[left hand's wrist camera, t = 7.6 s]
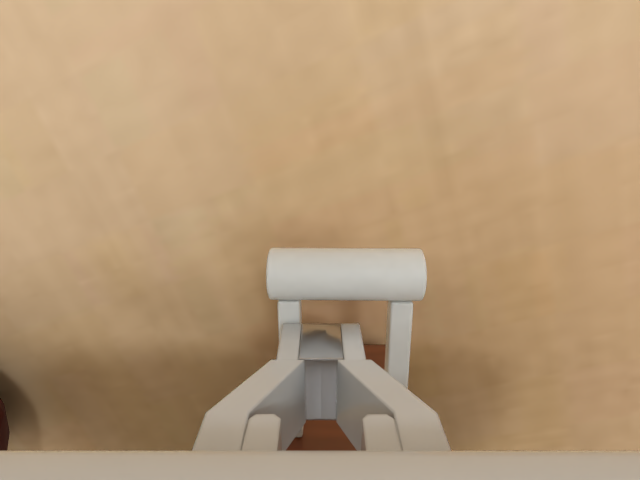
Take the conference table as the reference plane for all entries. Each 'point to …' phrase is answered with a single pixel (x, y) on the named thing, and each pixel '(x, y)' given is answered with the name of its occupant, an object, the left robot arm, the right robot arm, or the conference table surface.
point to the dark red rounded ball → (3, 428)
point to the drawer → (349, 284)
